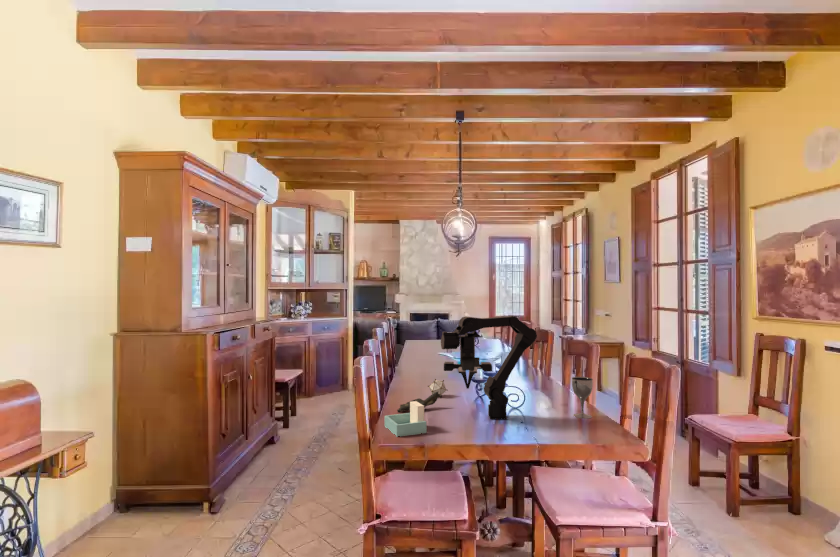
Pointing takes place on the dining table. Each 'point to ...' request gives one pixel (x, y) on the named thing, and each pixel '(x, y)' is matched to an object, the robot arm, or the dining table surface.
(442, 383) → the game die
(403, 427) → the box
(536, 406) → the dining table surface
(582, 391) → the wine glass
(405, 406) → the statue
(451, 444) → the dining table surface
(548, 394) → the dining table surface
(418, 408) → the bookend
